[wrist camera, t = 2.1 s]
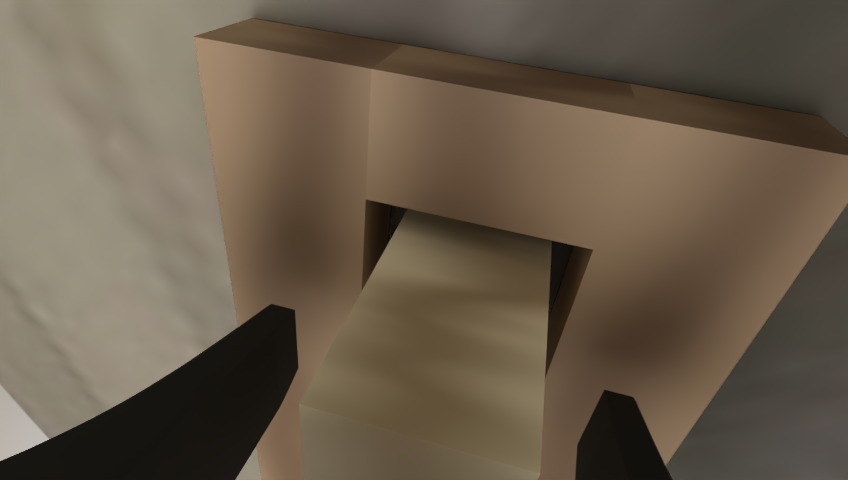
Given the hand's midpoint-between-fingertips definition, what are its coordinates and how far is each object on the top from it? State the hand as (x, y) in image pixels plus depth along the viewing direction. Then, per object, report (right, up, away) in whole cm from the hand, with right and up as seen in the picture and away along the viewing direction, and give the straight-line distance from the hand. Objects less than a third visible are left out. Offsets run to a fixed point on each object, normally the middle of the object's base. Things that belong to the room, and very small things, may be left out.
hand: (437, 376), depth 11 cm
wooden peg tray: (+1, -2, +7) cm, 7 cm away
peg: (+1, +3, +4) cm, 5 cm away
